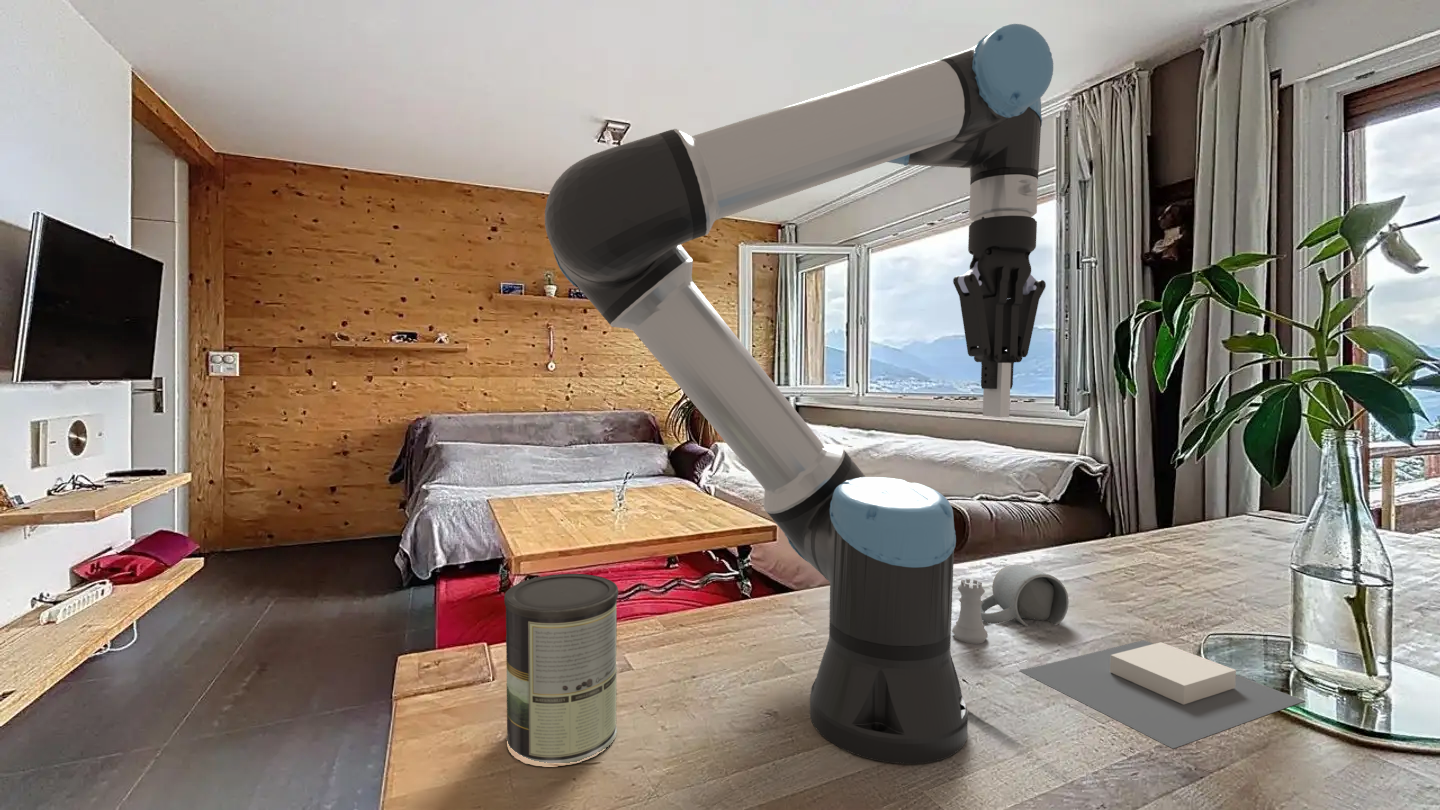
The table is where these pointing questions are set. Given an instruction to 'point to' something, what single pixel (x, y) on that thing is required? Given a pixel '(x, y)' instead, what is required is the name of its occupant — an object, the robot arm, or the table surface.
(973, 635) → the rook chess piece
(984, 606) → the ceramic mug
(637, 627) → the table surface
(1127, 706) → the mat
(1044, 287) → the robot arm
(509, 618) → the coffee can
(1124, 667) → the tile
